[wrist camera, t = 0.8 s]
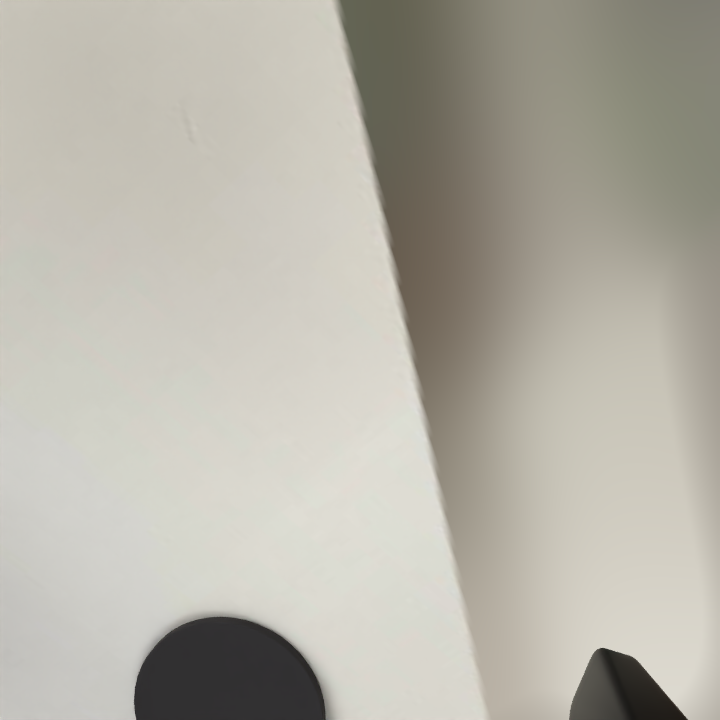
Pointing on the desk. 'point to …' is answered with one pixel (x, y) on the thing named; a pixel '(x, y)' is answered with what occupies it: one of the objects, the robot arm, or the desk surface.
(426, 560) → the desk surface
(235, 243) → the desk surface
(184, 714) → the coaster
